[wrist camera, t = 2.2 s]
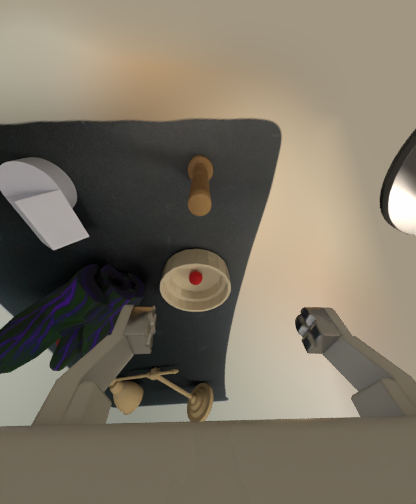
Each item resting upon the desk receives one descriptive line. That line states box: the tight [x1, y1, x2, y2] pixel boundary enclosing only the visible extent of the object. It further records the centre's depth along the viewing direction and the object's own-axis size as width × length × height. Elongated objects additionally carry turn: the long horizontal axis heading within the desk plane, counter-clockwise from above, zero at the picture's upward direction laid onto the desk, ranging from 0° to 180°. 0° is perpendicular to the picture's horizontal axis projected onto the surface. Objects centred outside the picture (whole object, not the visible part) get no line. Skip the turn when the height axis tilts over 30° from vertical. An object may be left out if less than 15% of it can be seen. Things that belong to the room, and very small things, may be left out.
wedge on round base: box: [0, 157, 89, 250], centre depth 29 cm, size 9×7×13 cm
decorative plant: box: [0, 264, 146, 374], centre depth 38 cm, size 21×26×30 cm
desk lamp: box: [109, 367, 213, 422], centre depth 77 cm, size 15×35×40 cm
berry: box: [189, 271, 203, 285], centre depth 41 cm, size 3×3×3 cm
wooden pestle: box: [188, 155, 213, 216], centre depth 23 cm, size 4×4×16 cm
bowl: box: [160, 249, 231, 312], centre depth 41 cm, size 15×15×6 cm
